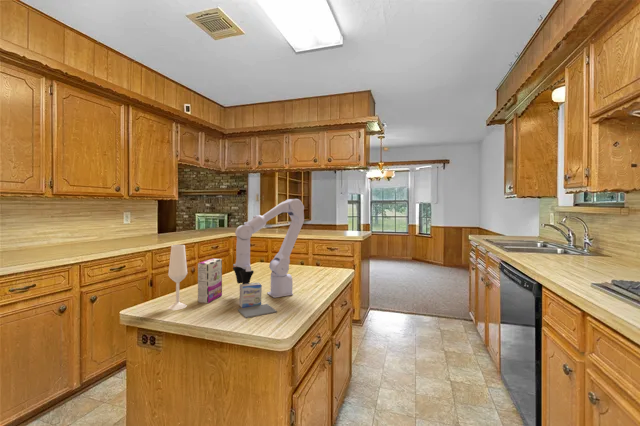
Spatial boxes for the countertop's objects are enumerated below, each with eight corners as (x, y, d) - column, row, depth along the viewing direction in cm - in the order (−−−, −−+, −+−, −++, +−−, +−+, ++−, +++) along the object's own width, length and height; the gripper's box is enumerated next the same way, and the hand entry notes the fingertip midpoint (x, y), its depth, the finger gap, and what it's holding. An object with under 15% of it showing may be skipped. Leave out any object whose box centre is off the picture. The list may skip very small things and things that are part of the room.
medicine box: (241, 308, 115) (242, 286, 115) (239, 305, 119) (239, 283, 119) (261, 306, 119) (261, 284, 118) (258, 302, 123) (258, 281, 122)
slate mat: (267, 305, 120) (267, 303, 120) (276, 312, 112) (276, 311, 112) (237, 310, 113) (237, 308, 113) (245, 318, 105) (245, 316, 105)
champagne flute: (183, 303, 120) (183, 244, 120) (189, 307, 115) (190, 245, 115) (165, 306, 115) (166, 245, 115) (171, 311, 111) (171, 247, 110)
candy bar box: (212, 294, 132) (212, 258, 131) (222, 295, 131) (222, 258, 130) (196, 302, 121) (197, 262, 120) (207, 303, 120) (208, 263, 119)
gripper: (229, 251, 130) (228, 282, 131) (239, 256, 118) (238, 290, 119) (244, 250, 134) (244, 280, 135) (256, 255, 122) (255, 288, 122)
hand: (242, 285), depth 127 cm, fingers open, 7 cm apart
